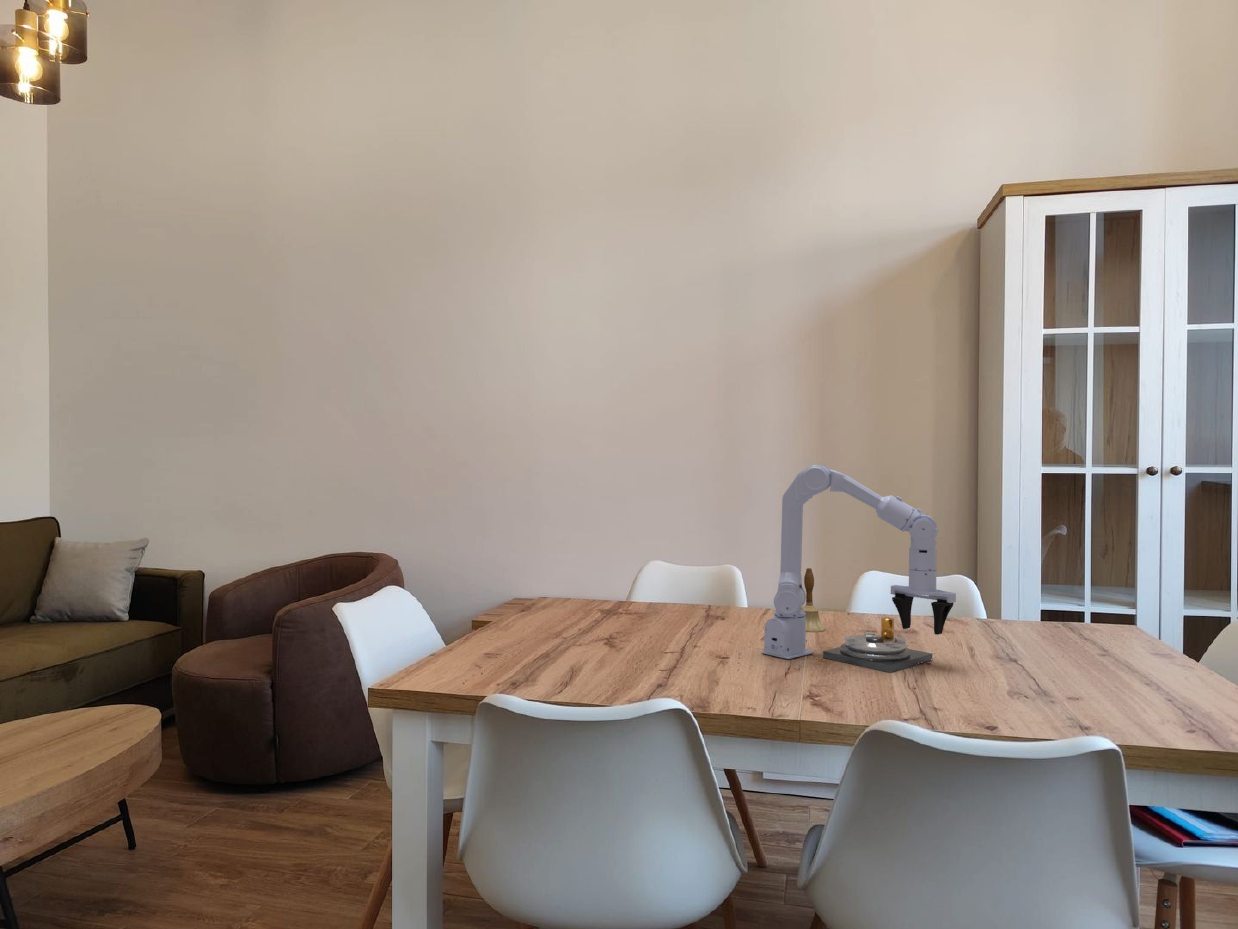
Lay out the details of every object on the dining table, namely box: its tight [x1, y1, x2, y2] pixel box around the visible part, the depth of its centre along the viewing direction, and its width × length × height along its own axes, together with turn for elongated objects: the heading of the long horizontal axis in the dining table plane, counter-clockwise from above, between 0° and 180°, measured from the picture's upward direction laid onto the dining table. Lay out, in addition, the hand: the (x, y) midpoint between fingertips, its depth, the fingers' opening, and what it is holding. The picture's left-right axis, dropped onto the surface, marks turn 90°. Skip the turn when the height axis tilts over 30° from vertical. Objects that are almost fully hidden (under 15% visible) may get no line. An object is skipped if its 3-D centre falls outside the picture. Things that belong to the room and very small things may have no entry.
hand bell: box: [801, 567, 826, 633], centre depth 223 cm, size 8×8×16 cm
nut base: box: [822, 642, 933, 674], centre depth 190 cm, size 17×17×3 cm
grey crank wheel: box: [844, 616, 907, 654], centre depth 189 cm, size 13×13×6 cm
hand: (922, 631), depth 186 cm, fingers open, 7 cm apart
